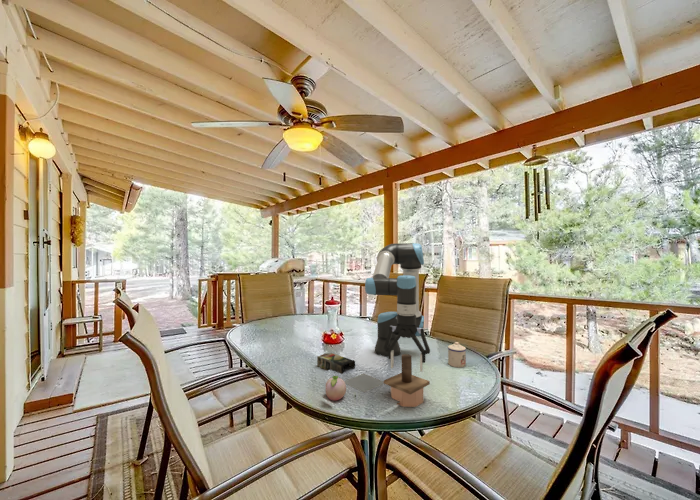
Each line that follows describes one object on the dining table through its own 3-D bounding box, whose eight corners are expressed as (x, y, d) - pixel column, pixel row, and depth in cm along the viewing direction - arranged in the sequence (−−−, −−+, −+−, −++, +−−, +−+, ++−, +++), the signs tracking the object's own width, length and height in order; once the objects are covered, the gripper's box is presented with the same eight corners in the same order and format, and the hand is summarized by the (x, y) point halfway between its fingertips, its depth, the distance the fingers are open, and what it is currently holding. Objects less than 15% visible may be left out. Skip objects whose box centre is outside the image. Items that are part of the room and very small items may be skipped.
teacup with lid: (464, 369, 152) (464, 346, 152) (446, 365, 157) (446, 343, 157) (468, 361, 163) (468, 340, 163) (450, 358, 167) (450, 337, 167)
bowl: (384, 398, 122) (384, 383, 122) (403, 388, 130) (403, 374, 130) (410, 410, 113) (410, 394, 113) (428, 399, 121) (428, 384, 121)
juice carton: (314, 366, 157) (315, 354, 157) (329, 361, 164) (329, 350, 164) (341, 378, 143) (341, 364, 143) (355, 372, 150) (356, 360, 150)
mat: (341, 385, 134) (341, 381, 134) (363, 376, 143) (363, 373, 143) (364, 396, 123) (364, 392, 123) (386, 386, 133) (386, 382, 133)
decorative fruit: (346, 406, 115) (346, 380, 115) (325, 407, 115) (325, 380, 115) (345, 395, 125) (345, 370, 125) (325, 395, 124) (325, 371, 124)
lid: (383, 383, 122) (383, 355, 122) (403, 374, 131) (403, 348, 131) (410, 394, 112) (410, 364, 112) (429, 384, 121) (429, 356, 121)
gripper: (376, 314, 121) (376, 368, 121) (436, 317, 115) (436, 375, 114) (379, 310, 129) (379, 362, 128) (436, 313, 122) (436, 368, 122)
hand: (406, 368), depth 121 cm, fingers open, 11 cm apart
